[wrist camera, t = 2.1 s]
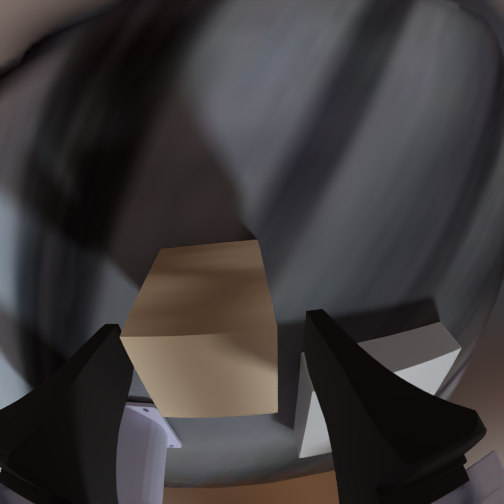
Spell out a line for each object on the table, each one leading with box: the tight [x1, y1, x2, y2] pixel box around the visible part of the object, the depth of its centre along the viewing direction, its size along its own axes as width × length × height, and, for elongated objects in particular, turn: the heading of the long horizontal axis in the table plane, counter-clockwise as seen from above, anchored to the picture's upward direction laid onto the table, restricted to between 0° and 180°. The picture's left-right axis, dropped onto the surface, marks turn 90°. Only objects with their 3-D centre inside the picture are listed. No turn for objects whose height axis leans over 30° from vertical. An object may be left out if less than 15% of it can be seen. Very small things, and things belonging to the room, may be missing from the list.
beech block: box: [120, 240, 278, 418], centre depth 11 cm, size 4×4×6 cm
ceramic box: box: [294, 322, 461, 458], centre depth 17 cm, size 11×11×4 cm
